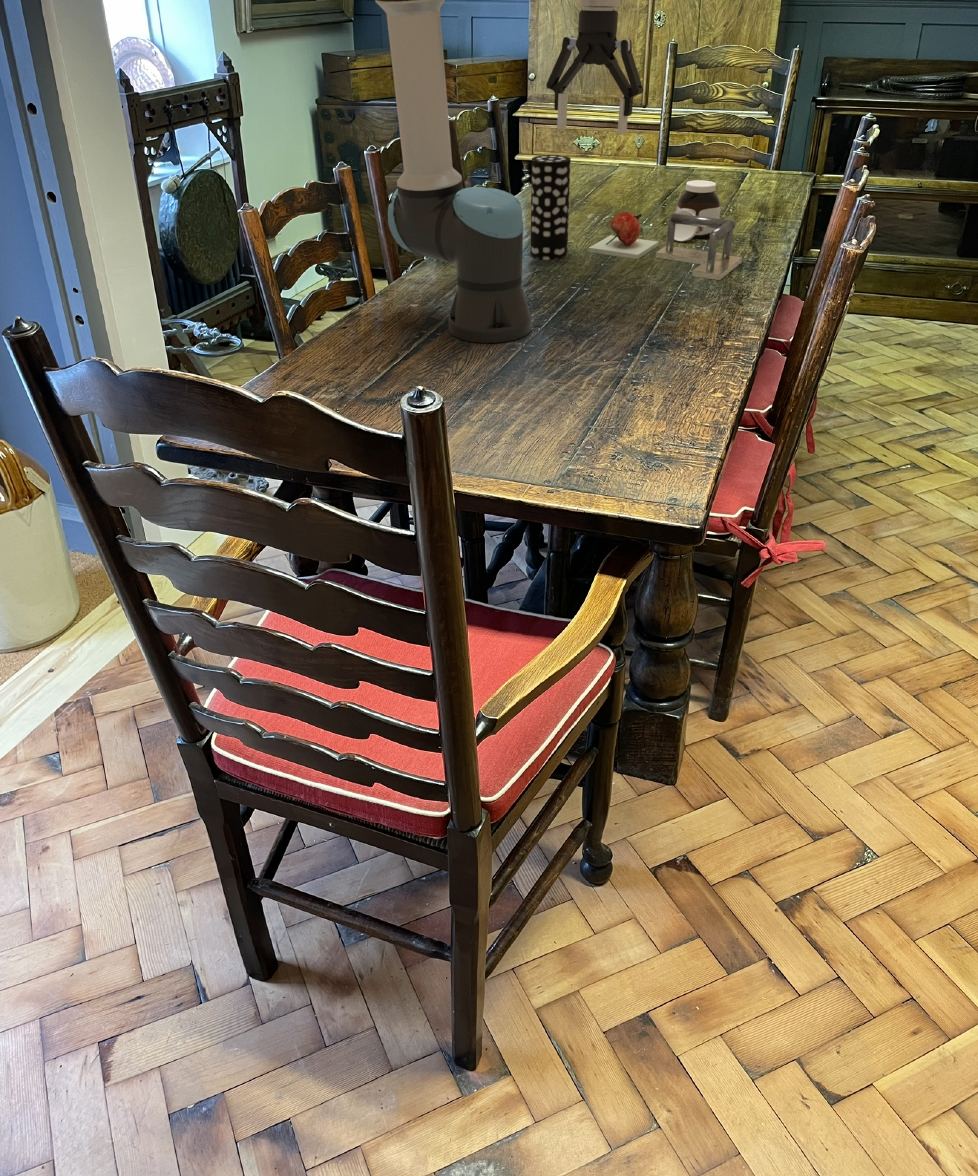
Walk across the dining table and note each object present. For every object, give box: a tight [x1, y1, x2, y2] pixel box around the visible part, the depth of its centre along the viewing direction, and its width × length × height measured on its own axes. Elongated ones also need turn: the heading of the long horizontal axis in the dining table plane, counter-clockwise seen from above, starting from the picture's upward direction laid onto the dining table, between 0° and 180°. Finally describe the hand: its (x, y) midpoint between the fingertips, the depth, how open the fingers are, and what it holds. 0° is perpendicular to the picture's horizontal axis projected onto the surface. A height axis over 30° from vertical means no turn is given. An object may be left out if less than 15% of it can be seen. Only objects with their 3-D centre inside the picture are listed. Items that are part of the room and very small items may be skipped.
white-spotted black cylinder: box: [530, 154, 572, 261], centre depth 204 cm, size 8×8×20 cm
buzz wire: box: [655, 212, 743, 281], centre depth 200 cm, size 15×18×9 cm
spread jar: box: [674, 179, 721, 243], centre depth 217 cm, size 12×11×12 cm
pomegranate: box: [606, 211, 643, 245], centre depth 211 cm, size 7×7×10 cm
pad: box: [588, 234, 660, 260], centre depth 213 cm, size 12×12×1 cm
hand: (591, 131), depth 190 cm, fingers open, 13 cm apart
